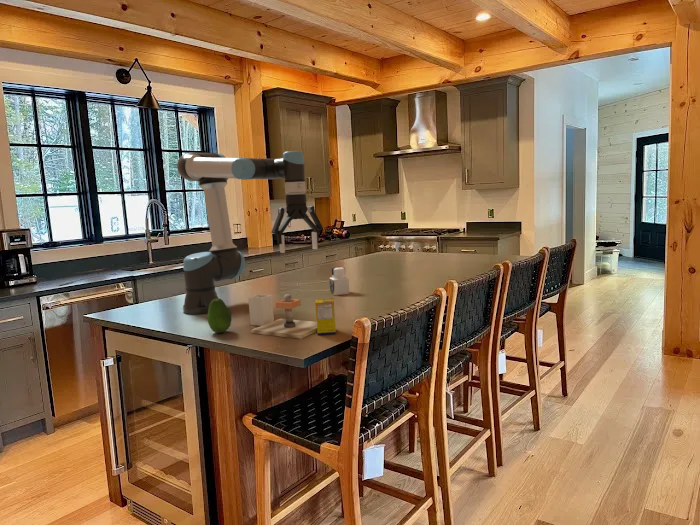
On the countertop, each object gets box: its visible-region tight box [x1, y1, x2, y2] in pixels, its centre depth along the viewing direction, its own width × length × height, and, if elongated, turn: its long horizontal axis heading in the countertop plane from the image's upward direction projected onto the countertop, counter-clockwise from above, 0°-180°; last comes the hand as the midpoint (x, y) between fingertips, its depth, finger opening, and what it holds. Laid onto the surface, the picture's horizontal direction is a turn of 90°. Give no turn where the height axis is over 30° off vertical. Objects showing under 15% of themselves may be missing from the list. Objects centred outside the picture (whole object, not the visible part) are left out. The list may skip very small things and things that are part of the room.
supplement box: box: [315, 297, 337, 336], centre depth 172 cm, size 6×6×11 cm
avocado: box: [206, 297, 232, 334], centre depth 178 cm, size 8×8×12 cm
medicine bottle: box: [329, 266, 350, 296], centre depth 237 cm, size 7×7×12 cm
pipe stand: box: [251, 293, 317, 340], centre depth 178 cm, size 20×16×12 cm
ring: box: [275, 298, 302, 310], centre depth 177 cm, size 6×6×2 cm
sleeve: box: [248, 293, 275, 327], centre depth 188 cm, size 6×6×10 cm
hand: (299, 251), depth 196 cm, fingers open, 13 cm apart
